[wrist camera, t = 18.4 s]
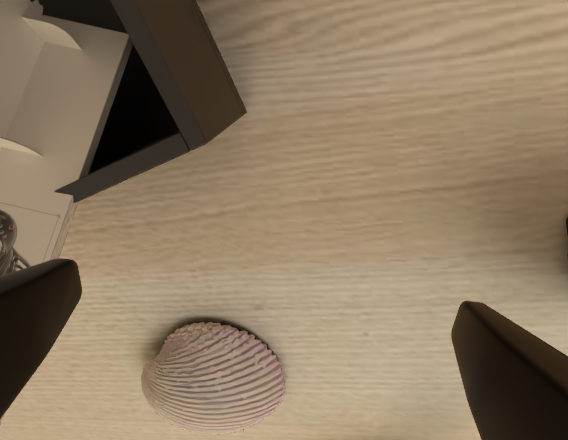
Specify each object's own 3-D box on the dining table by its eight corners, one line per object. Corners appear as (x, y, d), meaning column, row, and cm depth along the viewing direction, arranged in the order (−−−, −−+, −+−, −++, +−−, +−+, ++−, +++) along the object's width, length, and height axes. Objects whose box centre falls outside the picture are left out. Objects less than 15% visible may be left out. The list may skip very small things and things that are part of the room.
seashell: (129, 331, 22) (281, 399, 21) (178, 287, 27) (303, 339, 26) (118, 440, 26) (244, 504, 25) (162, 385, 31) (269, 435, 30)
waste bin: (132, -140, 16) (-28, -315, 8) (247, 112, 20) (207, 143, 12) (-69, -2, 18) (-319, -43, 11) (67, 194, 22) (-53, 260, 15)
